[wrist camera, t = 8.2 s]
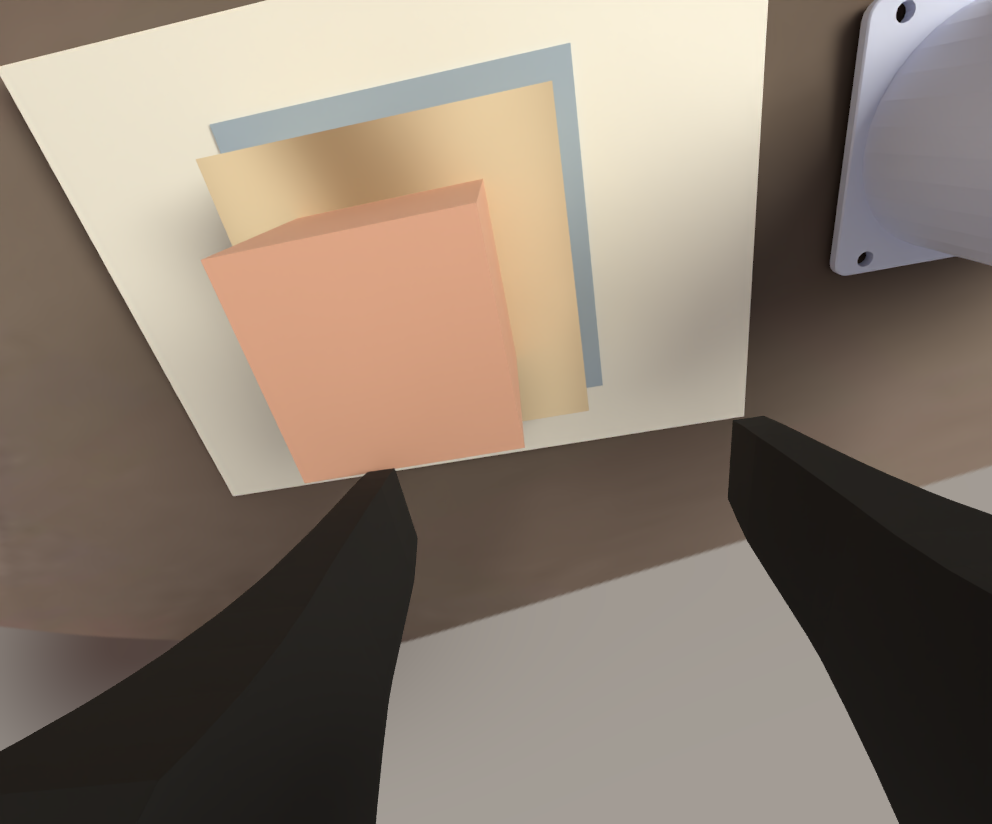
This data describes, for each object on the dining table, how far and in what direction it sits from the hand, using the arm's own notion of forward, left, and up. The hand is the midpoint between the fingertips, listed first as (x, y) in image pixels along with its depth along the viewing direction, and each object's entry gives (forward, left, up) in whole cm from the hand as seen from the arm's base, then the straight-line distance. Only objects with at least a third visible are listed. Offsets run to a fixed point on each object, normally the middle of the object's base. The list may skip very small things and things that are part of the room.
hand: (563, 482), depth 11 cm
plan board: (+3, -3, -10) cm, 11 cm away
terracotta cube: (+3, -3, -5) cm, 7 cm away
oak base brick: (+3, -3, -9) cm, 10 cm away
